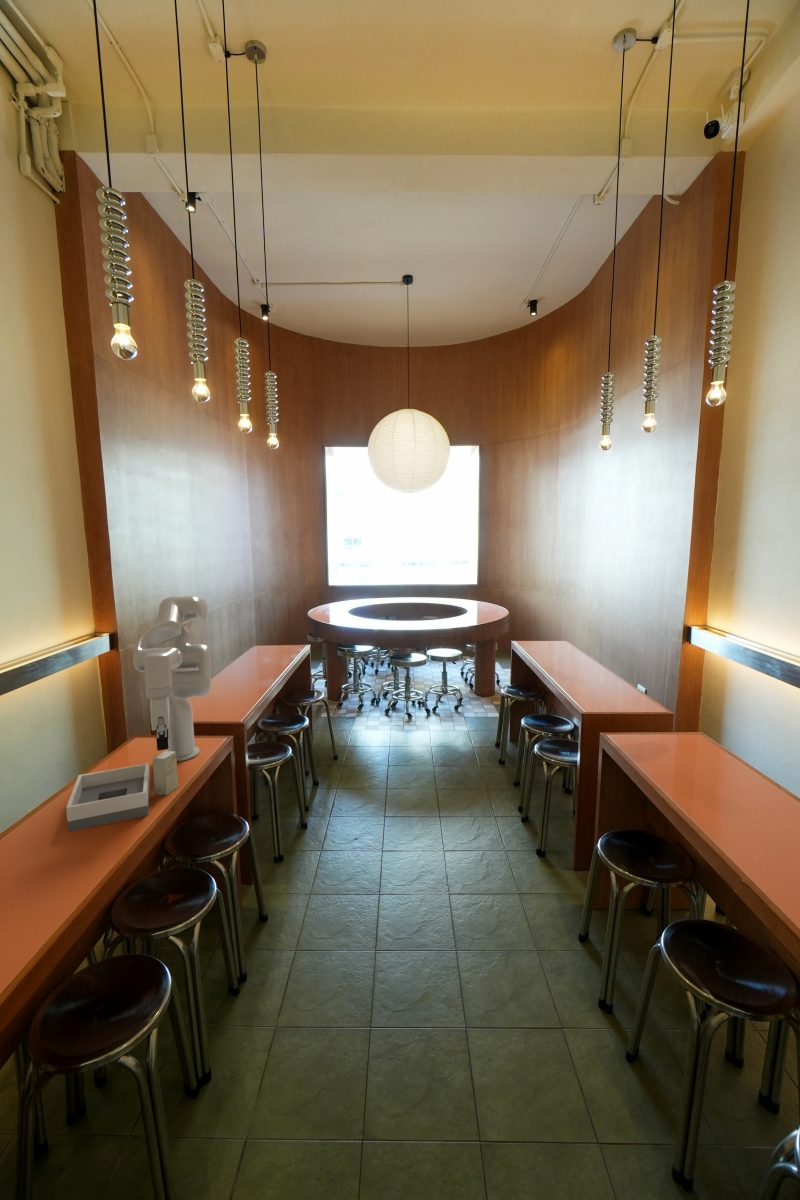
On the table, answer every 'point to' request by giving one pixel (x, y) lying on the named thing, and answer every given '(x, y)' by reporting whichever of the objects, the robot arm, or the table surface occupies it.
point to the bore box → (109, 797)
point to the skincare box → (165, 772)
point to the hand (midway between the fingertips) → (163, 744)
